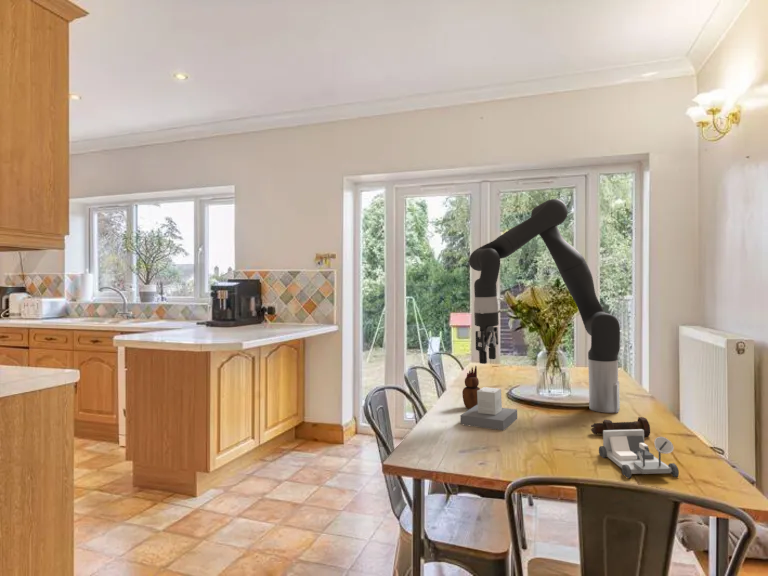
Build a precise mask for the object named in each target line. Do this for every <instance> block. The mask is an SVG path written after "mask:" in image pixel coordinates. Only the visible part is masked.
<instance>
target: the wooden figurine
mask: <svg viewBox="0 0 768 576" xmlns="http://www.w3.org/2000/svg"><path fill="white" fill-rule="evenodd" d="M477 368H478V367H477V365H475V367H474V368H473V367H471V370H469V372H467V373H466V377H465V378H464V385H465V387H463V389H462V392H461V394H462V401H463V404H464V406H465V408H466V409H468V410H469V409H471V408H472V407H474V406H475V405H478V401H477V391H478V390H480V389H481V388H480V387H479V385H480V384H479V383H480V381H479V378H478V374H477V373H478V372H477Z"/></svg>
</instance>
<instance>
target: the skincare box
mask: <svg viewBox="0 0 768 576" xmlns="http://www.w3.org/2000/svg"><path fill="white" fill-rule="evenodd" d="M477 401H478V413H482V414H491V415H496V414H498V413H499V412H501V411H502V408H503V407H502V406H503V403H502V402H503V401H502V389H501V388H497V387H495V388H494V387H487V386H483V387H482V388H480V390H478V391H477Z"/></svg>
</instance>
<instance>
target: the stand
mask: <svg viewBox="0 0 768 576" xmlns="http://www.w3.org/2000/svg"><path fill="white" fill-rule="evenodd" d="M459 417H460V418H459V419H460V425H461V424H464V425H463V426H468V425H470V427H476V428H481V429H482V428H484V429H488V430H489V429H491V430H496V429H498V430H497V431H503V430H504V431H505V430H506V429H508V427H509V426H510V425H512V424H513V423H514V422H515V421H516V420H518V409H517V408H509V407H502V411H501V412H499V413H498V414H496V415H491V414H482V413H478V405H475V406H474V407H472V408H471V409H469V408H468V410H466V411H464V412H463V413H461V414H460V415H459Z"/></svg>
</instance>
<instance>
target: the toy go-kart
mask: <svg viewBox="0 0 768 576" xmlns="http://www.w3.org/2000/svg"><path fill="white" fill-rule="evenodd" d="M653 442H654V448H655V449H656V451H657V453H658V457H656V456H655V455H654V454H653V453H652V452H650V449H649V445H648V444H646V443H645V437H644V430H643V429H631V430H603V434H602V445H600V446H599V447H598V453H599V456H600V457H602V458H603V459H606V458H608V459H610V461H612V462H613V463H614V464H616V466H618V467H619V468H620V469H621V473H622V475H623V476H624V475H625V476H626V477H627V479H631V478H632V475H633V474H637V475H638V474H642V475H644V474H645V475H646V474H647V475H649V474H669V475H671V476H672V477H674V478H675V477H678V476H679V474H680V473H679V472H680V471H679V468H678V466H677V464H675V463H669V464H667V463H665V462H663V461H662V459H661V457H662V456H661V455H662V454H671V453H672V452H673V451H674V443H672V441H671V440H670V439H668V438H667V437H664V436H658V437H655V439H654V441H653ZM625 476H624V477H625ZM626 477H625V478H626Z"/></svg>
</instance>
